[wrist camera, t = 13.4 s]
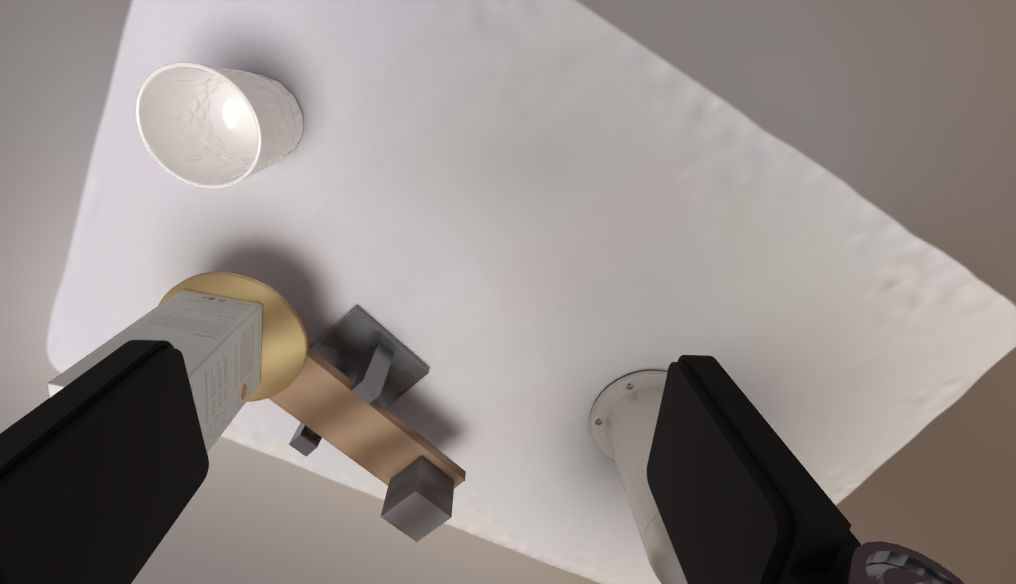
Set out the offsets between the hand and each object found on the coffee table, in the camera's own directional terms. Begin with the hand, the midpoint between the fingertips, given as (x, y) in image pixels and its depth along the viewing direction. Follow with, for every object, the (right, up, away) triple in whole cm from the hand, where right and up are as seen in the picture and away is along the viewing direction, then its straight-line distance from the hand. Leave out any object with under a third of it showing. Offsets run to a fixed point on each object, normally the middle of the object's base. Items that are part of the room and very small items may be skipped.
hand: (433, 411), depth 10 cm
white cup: (-19, +17, +32) cm, 41 cm away
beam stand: (-15, -6, +42) cm, 45 cm away
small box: (-22, -1, +31) cm, 38 cm away
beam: (-15, -7, +36) cm, 40 cm away
